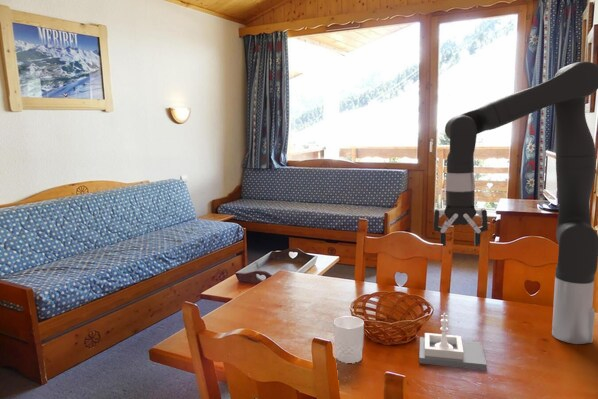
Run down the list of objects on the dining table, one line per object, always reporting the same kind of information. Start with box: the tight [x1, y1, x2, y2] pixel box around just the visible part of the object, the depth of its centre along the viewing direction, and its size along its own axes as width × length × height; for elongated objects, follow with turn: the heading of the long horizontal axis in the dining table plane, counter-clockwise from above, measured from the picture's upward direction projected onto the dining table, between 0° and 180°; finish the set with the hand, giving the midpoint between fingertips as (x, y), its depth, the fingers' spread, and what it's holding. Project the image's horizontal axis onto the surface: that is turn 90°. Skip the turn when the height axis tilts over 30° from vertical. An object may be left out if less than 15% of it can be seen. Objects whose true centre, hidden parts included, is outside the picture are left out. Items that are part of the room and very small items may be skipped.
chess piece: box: [434, 312, 453, 349], centre depth 120 cm, size 5×5×10 cm
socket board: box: [418, 332, 487, 371], centre depth 120 cm, size 16×12×4 cm
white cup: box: [333, 315, 365, 364], centre depth 120 cm, size 8×8×10 cm
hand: (459, 245), depth 129 cm, fingers open, 8 cm apart
